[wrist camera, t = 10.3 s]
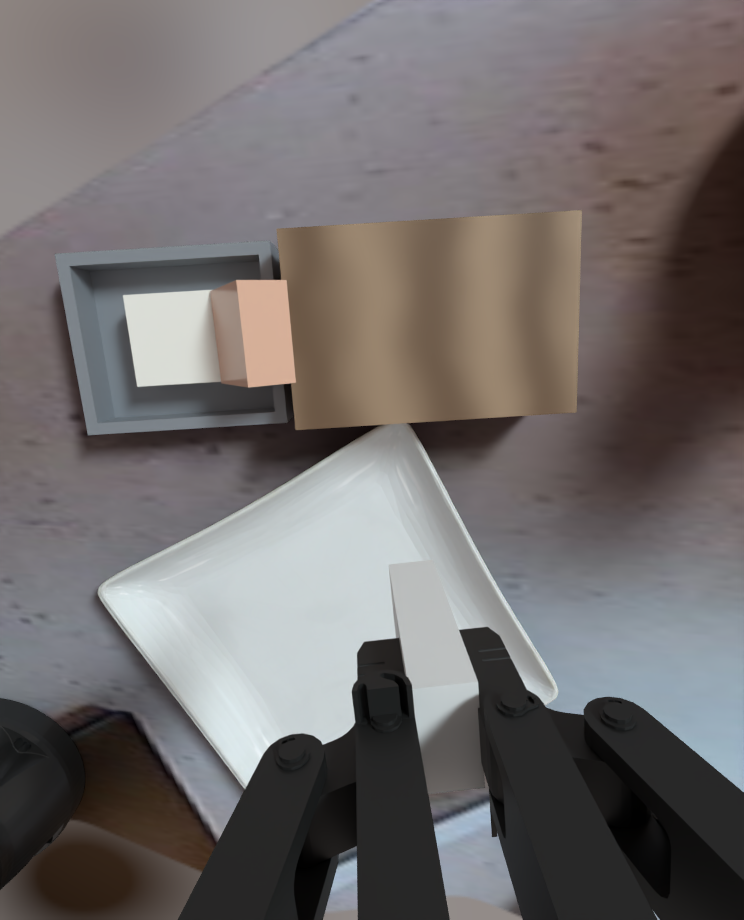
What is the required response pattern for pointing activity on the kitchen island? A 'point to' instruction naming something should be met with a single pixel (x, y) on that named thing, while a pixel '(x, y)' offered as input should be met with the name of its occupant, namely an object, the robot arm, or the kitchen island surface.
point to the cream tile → (172, 338)
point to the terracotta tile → (253, 333)
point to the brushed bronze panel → (433, 318)
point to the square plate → (305, 597)
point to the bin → (109, 350)
